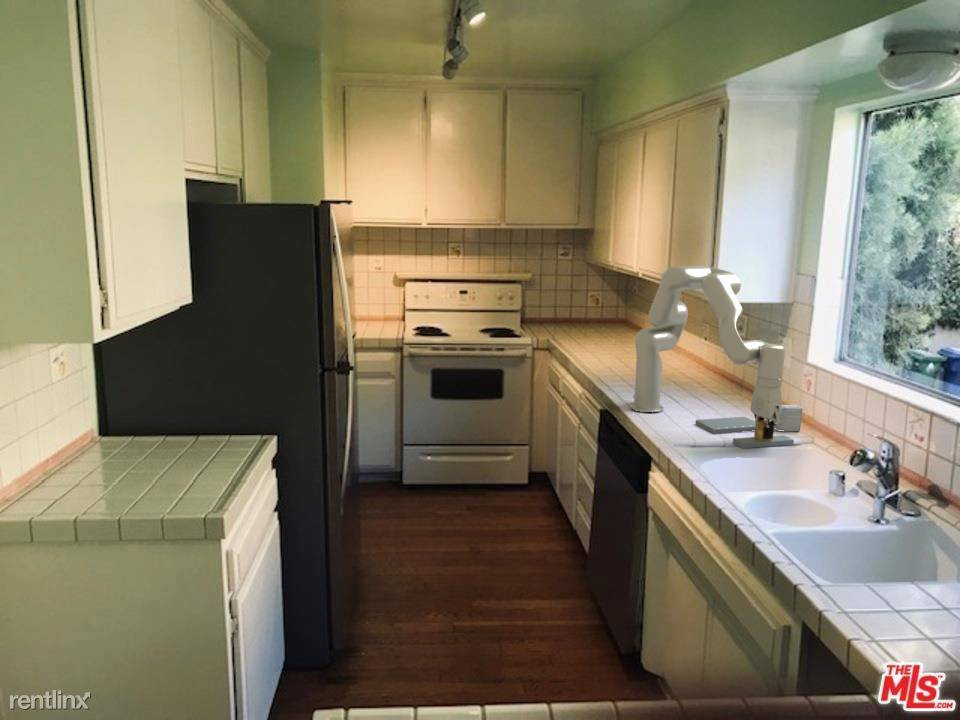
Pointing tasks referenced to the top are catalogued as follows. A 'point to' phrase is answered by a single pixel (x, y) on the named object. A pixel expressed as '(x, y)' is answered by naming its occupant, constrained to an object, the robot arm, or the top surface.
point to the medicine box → (790, 418)
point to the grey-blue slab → (759, 440)
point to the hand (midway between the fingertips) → (763, 436)
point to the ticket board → (727, 425)
